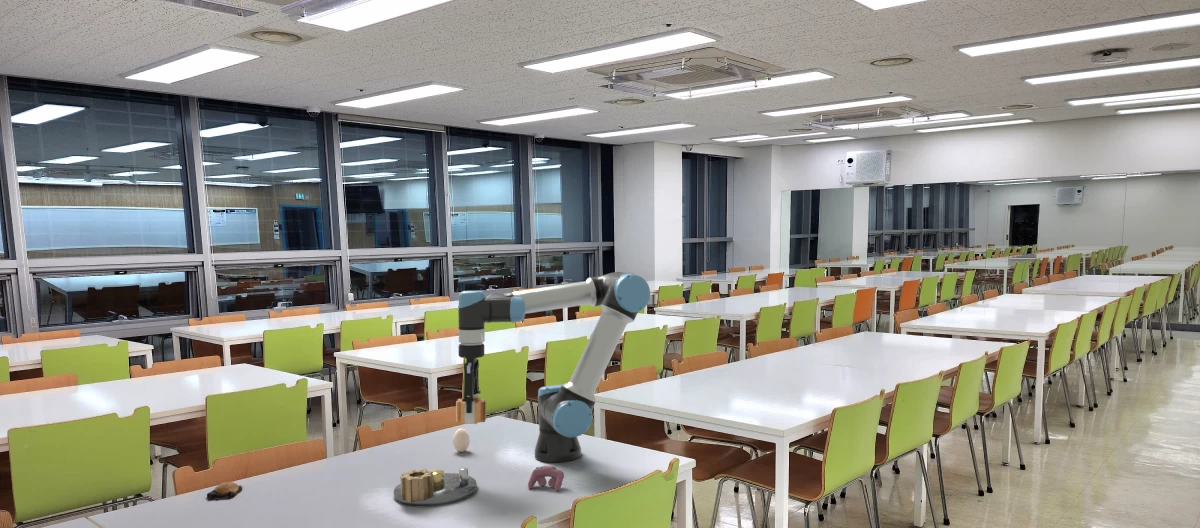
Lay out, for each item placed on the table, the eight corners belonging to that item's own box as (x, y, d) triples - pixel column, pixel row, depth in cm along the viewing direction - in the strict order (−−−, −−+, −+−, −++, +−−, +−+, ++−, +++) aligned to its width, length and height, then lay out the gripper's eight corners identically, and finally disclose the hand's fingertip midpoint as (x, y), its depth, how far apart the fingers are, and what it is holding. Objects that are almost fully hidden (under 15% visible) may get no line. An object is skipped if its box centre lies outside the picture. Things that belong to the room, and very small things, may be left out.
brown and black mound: (215, 491, 215) (214, 478, 215) (246, 488, 217) (245, 476, 216) (202, 503, 205) (201, 490, 204) (234, 500, 206) (233, 487, 206)
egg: (462, 448, 249) (461, 425, 249) (473, 450, 246) (472, 427, 246) (450, 452, 245) (449, 429, 244) (461, 455, 242) (460, 431, 241)
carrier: (479, 475, 220) (478, 451, 219) (473, 503, 197) (472, 476, 197) (401, 480, 217) (400, 455, 217) (386, 509, 195) (385, 481, 194)
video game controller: (563, 493, 207) (567, 468, 210) (558, 491, 203) (561, 465, 206) (532, 490, 210) (535, 465, 213) (525, 488, 206) (529, 463, 209)
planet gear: (487, 417, 219) (487, 397, 219) (484, 424, 211) (484, 403, 211) (458, 417, 219) (458, 397, 219) (454, 424, 210) (454, 403, 210)
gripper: (463, 338, 225) (463, 411, 225) (453, 348, 203) (453, 429, 204) (488, 338, 225) (488, 411, 226) (480, 348, 204) (480, 428, 204)
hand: (471, 419), depth 215 cm, fingers closed on planet gear, 8 cm apart
